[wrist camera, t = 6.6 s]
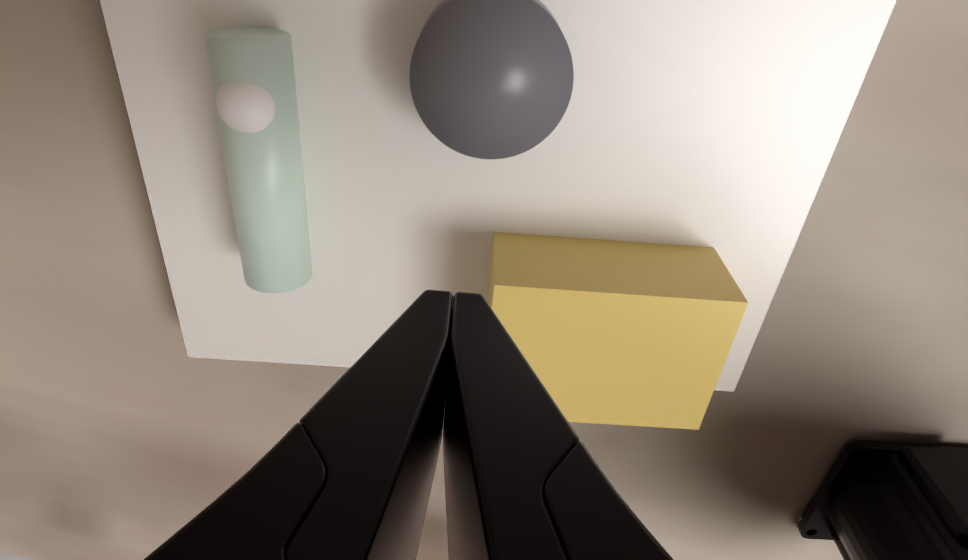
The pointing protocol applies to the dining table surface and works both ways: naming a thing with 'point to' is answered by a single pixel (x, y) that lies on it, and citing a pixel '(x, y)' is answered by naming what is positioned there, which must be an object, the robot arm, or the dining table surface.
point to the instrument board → (492, 174)
